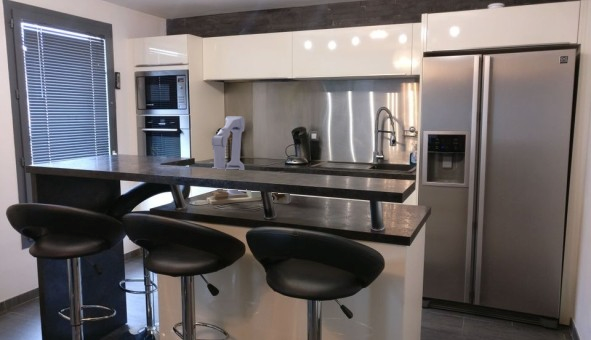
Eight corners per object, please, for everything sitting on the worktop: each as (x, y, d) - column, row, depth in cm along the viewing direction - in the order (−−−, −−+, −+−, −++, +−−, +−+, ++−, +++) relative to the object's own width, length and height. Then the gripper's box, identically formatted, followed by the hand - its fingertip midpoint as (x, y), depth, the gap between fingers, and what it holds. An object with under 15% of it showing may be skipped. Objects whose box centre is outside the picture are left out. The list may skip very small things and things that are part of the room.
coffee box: (270, 202, 236) (270, 172, 234) (275, 200, 242) (275, 170, 240) (287, 204, 233) (287, 173, 231) (291, 201, 239) (291, 171, 237)
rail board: (206, 200, 240) (206, 195, 240) (259, 195, 253) (259, 190, 252) (211, 204, 231) (211, 198, 231) (266, 199, 244) (266, 194, 243)
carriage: (212, 197, 239) (212, 184, 238) (225, 196, 242) (224, 183, 241) (215, 199, 234) (215, 186, 233) (228, 198, 237) (228, 185, 235)
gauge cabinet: (246, 194, 248) (246, 187, 248) (258, 193, 251) (258, 186, 250) (251, 197, 241) (251, 190, 240) (263, 196, 244) (263, 189, 243)
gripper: (208, 157, 239) (209, 182, 241) (215, 160, 226) (216, 187, 228) (221, 156, 242) (221, 181, 244) (229, 160, 229) (229, 186, 231)
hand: (219, 184), depth 237 cm, fingers open, 7 cm apart
